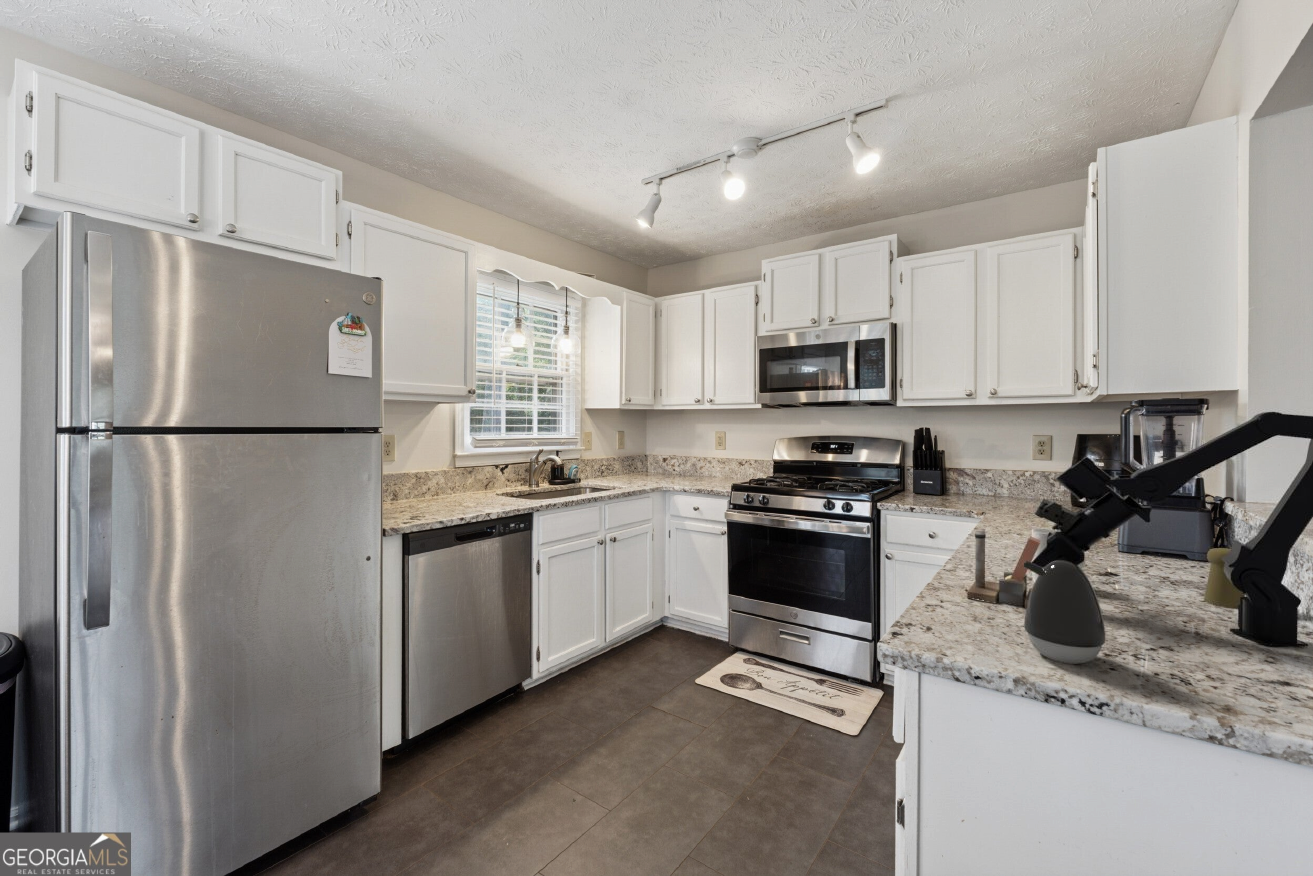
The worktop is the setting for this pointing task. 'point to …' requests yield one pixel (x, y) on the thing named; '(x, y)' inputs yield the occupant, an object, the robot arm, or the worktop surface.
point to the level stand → (991, 590)
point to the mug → (1044, 545)
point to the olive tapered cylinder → (1220, 582)
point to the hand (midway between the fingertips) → (1031, 567)
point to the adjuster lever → (1025, 556)
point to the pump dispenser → (1064, 613)
